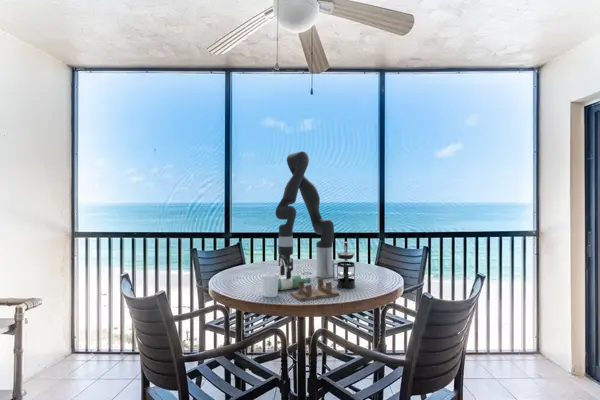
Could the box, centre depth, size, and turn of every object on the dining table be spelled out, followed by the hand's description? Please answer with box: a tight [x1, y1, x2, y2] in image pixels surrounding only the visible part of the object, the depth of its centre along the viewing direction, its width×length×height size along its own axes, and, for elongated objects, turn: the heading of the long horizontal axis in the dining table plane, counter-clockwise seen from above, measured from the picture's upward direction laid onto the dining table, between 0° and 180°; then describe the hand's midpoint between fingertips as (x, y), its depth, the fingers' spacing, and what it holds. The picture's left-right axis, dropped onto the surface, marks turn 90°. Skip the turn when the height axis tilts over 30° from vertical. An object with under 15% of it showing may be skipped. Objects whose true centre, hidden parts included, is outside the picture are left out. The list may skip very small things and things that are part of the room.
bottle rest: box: [290, 278, 340, 302], centre depth 155 cm, size 20×11×6 cm, turn 114°
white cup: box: [261, 271, 280, 298], centre depth 155 cm, size 8×8×10 cm
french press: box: [333, 241, 356, 290], centre depth 170 cm, size 12×9×23 cm
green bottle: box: [278, 275, 311, 291], centre depth 167 cm, size 20×6×6 cm, turn 114°
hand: (285, 277), depth 167 cm, fingers open, 8 cm apart
